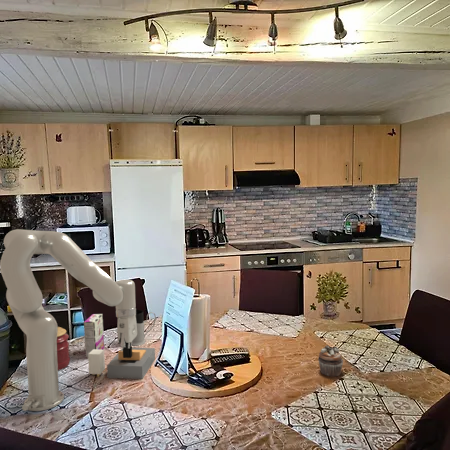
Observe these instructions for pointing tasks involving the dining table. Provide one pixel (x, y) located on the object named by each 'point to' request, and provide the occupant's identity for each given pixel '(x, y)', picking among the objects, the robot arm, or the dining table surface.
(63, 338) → the canister
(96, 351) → the block
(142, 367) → the socket
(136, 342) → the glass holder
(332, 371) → the cupcake
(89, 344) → the candy bar box
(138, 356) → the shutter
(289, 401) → the dining table surface
